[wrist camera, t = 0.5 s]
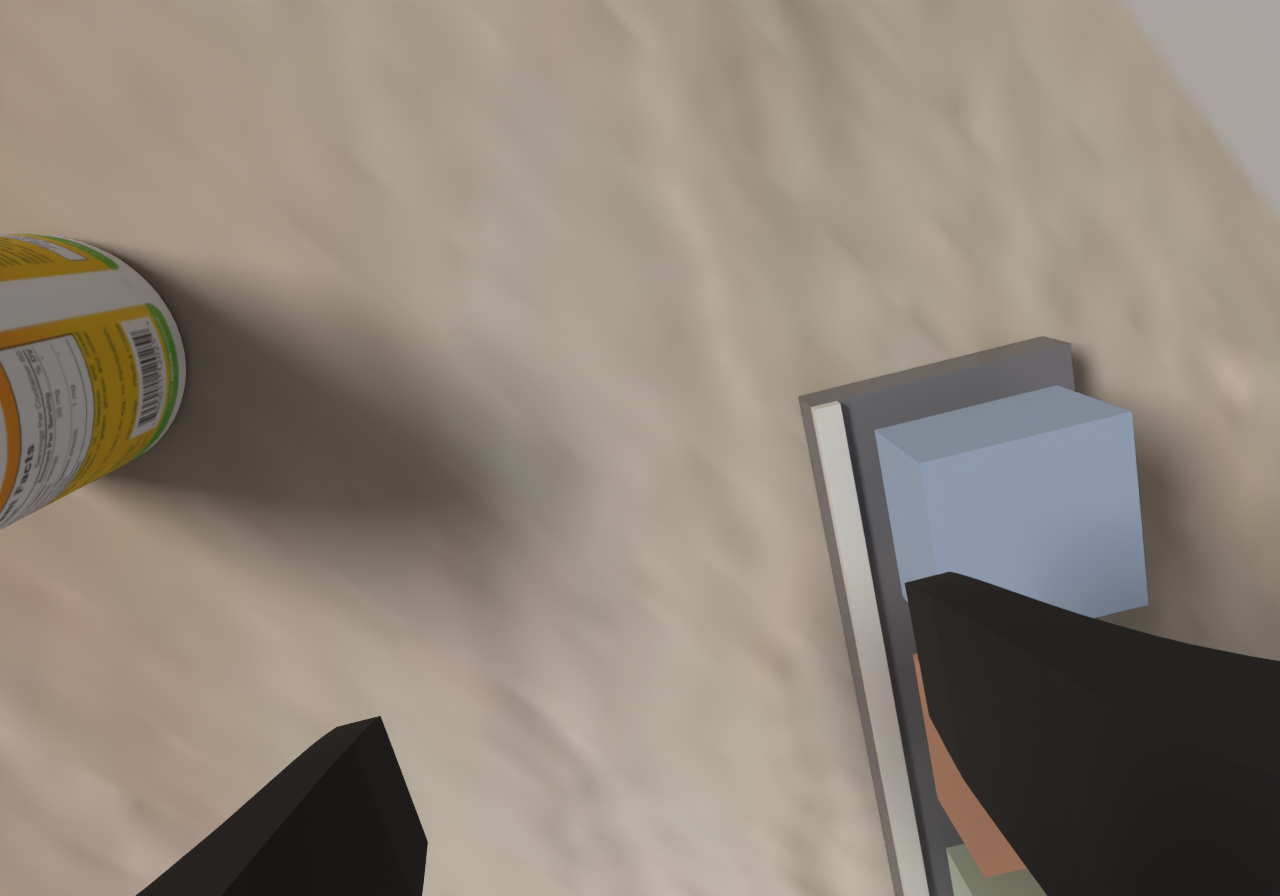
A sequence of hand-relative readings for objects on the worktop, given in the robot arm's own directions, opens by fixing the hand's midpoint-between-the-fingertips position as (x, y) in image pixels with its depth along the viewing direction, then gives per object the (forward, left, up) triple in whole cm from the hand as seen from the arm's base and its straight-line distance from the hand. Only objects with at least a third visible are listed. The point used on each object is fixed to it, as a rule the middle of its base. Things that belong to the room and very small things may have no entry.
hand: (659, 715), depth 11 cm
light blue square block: (-1, -8, -7) cm, 11 cm away
